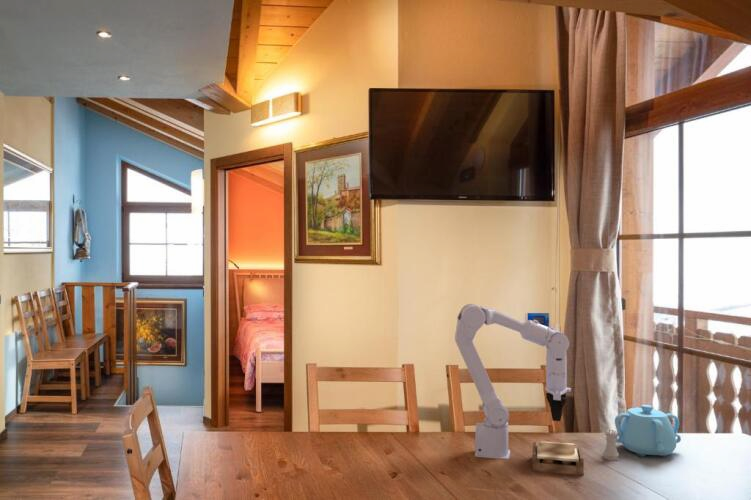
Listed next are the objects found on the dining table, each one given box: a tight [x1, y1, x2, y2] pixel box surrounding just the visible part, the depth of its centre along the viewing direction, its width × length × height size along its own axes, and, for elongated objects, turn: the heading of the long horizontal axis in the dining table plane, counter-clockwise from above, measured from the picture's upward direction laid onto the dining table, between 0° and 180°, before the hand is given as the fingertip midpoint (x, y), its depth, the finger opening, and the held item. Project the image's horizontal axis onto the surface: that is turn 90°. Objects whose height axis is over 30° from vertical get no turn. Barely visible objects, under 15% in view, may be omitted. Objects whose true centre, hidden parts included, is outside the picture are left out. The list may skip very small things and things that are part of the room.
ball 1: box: [542, 459, 554, 464], centre depth 169 cm, size 3×3×3 cm
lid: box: [536, 440, 579, 462], centre depth 169 cm, size 11×10×3 cm
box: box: [532, 441, 585, 476], centre depth 169 cm, size 13×11×5 cm
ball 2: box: [561, 460, 572, 465], centre depth 170 cm, size 3×3×3 cm
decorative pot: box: [614, 404, 682, 458], centre depth 183 cm, size 16×16×14 cm
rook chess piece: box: [602, 429, 620, 461], centre depth 176 cm, size 4×4×8 cm
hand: (556, 419), depth 179 cm, fingers closed
